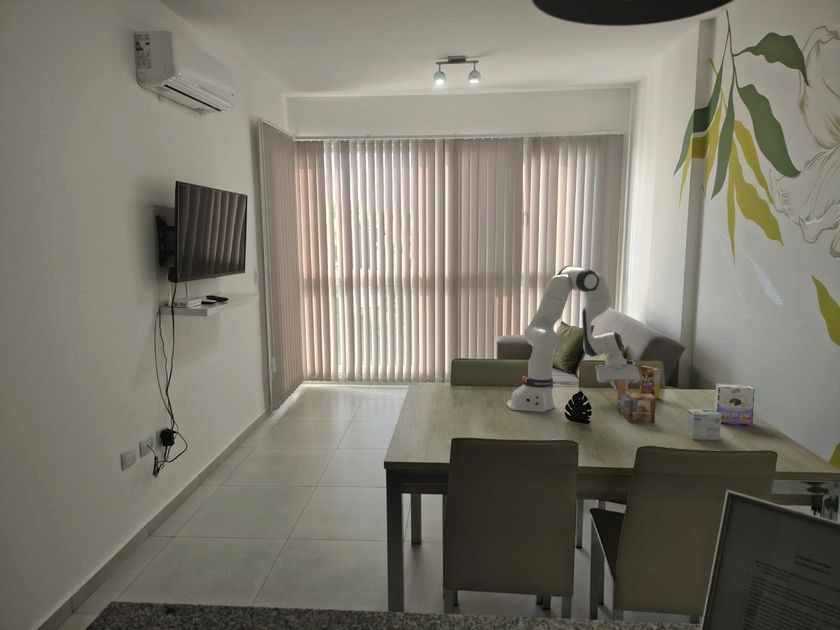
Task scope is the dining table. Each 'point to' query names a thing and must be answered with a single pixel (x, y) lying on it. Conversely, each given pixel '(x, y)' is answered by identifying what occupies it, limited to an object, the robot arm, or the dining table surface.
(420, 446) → the dining table surface
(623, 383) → the tethered block
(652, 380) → the candy box
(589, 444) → the dining table surface
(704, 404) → the dining table surface
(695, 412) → the light bulb box
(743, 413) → the candy box
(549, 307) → the robot arm
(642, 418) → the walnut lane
